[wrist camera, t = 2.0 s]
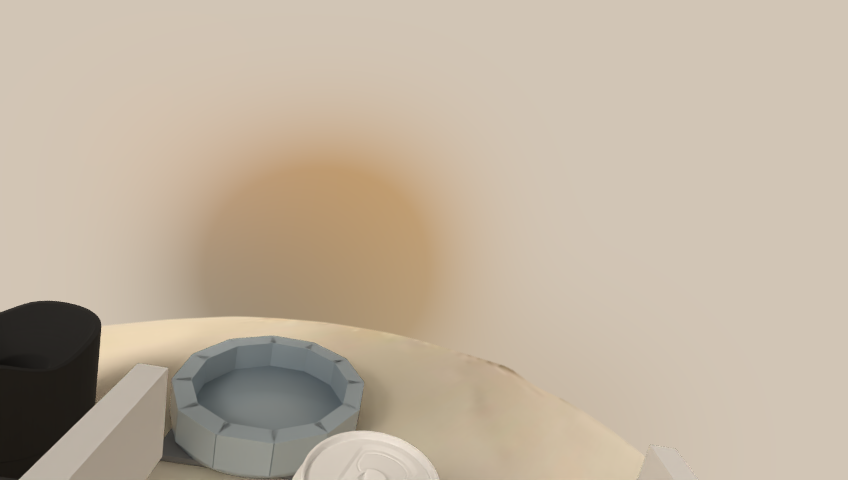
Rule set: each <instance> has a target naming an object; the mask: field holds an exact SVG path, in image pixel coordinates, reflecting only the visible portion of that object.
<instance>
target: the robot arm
mask: <svg viewBox="0 0 848 480" xmlns="http://www.w3.org/2000/svg"><path fill="white" fill-rule="evenodd" d="M167 381H168V368H167V367H161V366H154V365H148V364H142V363H138V364H137V365H135V366H134V367H133V368H132V369H131V370H130V371H129V372H128V373H127V374H126V375H125V376H124V377H123V378H122V379H121V380H120V381H119V382H118V383H117V384H116V385H115V386H114V387H113V388H112V389H111V390H110V391H109V392H108V393H107V394H106V395H105V396H104V397H103V398H102V399H101V400H100V401H99V402H98V403H97V404H96V405H95V406H94V407H93V408H92V409H90V410H89V411H88V412H87V413H86V414H85V415H84V416H83V417H82V418H81V419H80V420H79V421H78V422H77V423H76V424H75V425H74V426H73V427H72V428H71V429H70V430H69V431H68V432H67V433H66V434H65V435H64V436H63V437H62V438H61V439H60V440H59V441H58V442H57V443H56V444H55V445H54V446H53V447H52V448H51V449H50V450H49V451H48V452H47V453H46V454H44V455H43V456H42V457H41V458H40V459H39V460H38V461H37V462H36V463H35V464H34V465H33V466H32V467H31V468H30V469H29V470H28V471H27V472H26V473H25V474H24V475H23V476H22V477H21V478H20V479H12V478H5V477H0V480H146V479H147V478H148V476H149V475H150V473H151V472H152V471H153V469H154V468H155V466H156V465H157V463H158V462H159V460H160V459H161V458H162V453H163V438H164V424H165V410H166V396H167ZM637 480H699V479H698V478H697V476H696V475H695V474H694V472H693V471H692V470H691V468H690V467H689V466H688V464H687V463H686V462H685V460H684V459H683V458H682V456H681V455H680V454H679V452H678V451H677V450H676V449H674V448H669V447H662V446H655V445H649V448H648V451H647V454H646V456H645V459H644V462H643V464H642V467H641V470H640V472H639V475H638V478H637Z"/></svg>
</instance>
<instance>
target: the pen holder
mask: <svg viewBox="0 0 848 480" xmlns="http://www.w3.org/2000/svg"><path fill="white" fill-rule="evenodd" d="M100 336H101V322H100V319H99V318H98V316H97V315H96V314H95V313H93V312H92V311H90V310H88V309H86V308H84V307H81V306H77V305H75V304H70V303H65V302H59V301H58V302H57V301H37V302H30V303H27V304H23V305H20V306H17V307H14V308H11V309H8V310H6V311H3V312H0V477H5V478H12V479H20V478H21V477H22V476H23V475H24V474H25V473H26V472H27V471H28V470H29V469H30V468H31V467H32V466H33V465H34V464H35V463H36V462H37V461H38V460H39V459H40V458H41V457H42V456H43V455H44V454H46V453H47V452H48V451H49V450H50V449H51V448H52V447H53V446H54V445H55V444H56V443H57V442H58V441H59V440H60V439H61V438H62V437H63V436H64V435H65V434H66V433H67V432H68V431H69V430H70V429H71V428H72V427H73V426H74V425H75V424H76V423H77V422H78V421H79V420H80V419H81V418H82V417H83V416H84V415H85V414H86V413H87V412H88V411H89V410H90V409H92V408H93V407H94V406H95V398H96V386H97V373H98V361H99V349H100Z"/></svg>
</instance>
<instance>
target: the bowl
mask: <svg viewBox="0 0 848 480" xmlns="http://www.w3.org/2000/svg"><path fill="white" fill-rule="evenodd" d="M363 387H364V381H363V380H362V379H361V377H360V376H359V375H358V373H357V372H356V371H355V369H354V368H353V367H352V365H351V364H350V363H349V361H348V360H347V359H346V358H344V357H342V356H340V355H338V354H336V353H334V352H332V351H330V350H328V349H326V348H324V347H322V346H320V345H318V344H316V343H313V342H308V341H302V340H296V339H290V338H284V337H278V336H262V337H250V338H237V339H229V340H226V341H224V342H221V343H219V344H216V345H214V346H211V347H209V348H206V349H204V350H201V351H199V352H196V353H194V354H192V355H191V356H190V358H189V359H188V360H187V361H186V362H185V364H184V365H183V366H182V367H181V368H180V370H179V371H178V372H177V373H176V374H175V375H174V377H173V378H172V381H171V394H170V407H169V411H170V416H171V425H172V431H173V435H174V438H175V441H176V443H177V444H178V445H179V446H180V447H181V448H182V449H183V451H184V452H185V453H186V454H188V455H189V456H190V457H191V458H192V459H194V460H195V461H197V462H199V463H200V464H202V465H204V466H206V467H208V468H210V469H213V470H215V471H218V472H222V473H225V474H229V475H234V476H239V477H247V478H279V477H286V476H292V475H295V473H296V472H297V470H298V469H299V468H300V466H301V465H302V464H303V463H304V460H305V458H306V457H307V455H308V454H309V452H310V451H311V450H312V449H313V448H314V447H315V446H316V445H317V444H319V443H320V442H322V441H323V440H325V439H327V438H329V437H331V436H334V435H337V434H340V433H344V432H349V431H356V426H357V421H358V416H359V411H360V405H361V399H362V393H363Z"/></svg>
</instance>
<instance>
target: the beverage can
mask: <svg viewBox="0 0 848 480" xmlns="http://www.w3.org/2000/svg"><path fill="white" fill-rule="evenodd" d="M292 480H440V479H439V476H438V473H437V471H436V469H435V467H434V466H433V464H432V463H431V461H430V460H429V459H428V458H427V457H426V456H425V455H424V454H423V453H422V452H421V451H420V450H419V449H417V448H416V447H415V446H413V445H412V444H410V443H408V442H406V441H405V440H402V439H400V438H398V437H395V436H393V435H389V434H386V433H381V432H376V431H349V432H344V433H340V434H337V435H334V436H331V437H329V438H327V439H325V440H323V441H322V442H320V443H319V444H317V445H316V446H315V447H314V448H313V449H312V450H311V451H310V452H309V454H308V455H307V457H306V458H305V460H304V463H303V464H302V465H301V466H300V468H299V469H298V470H297V472H296V473H295V475H294V477H293V479H292Z"/></svg>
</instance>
